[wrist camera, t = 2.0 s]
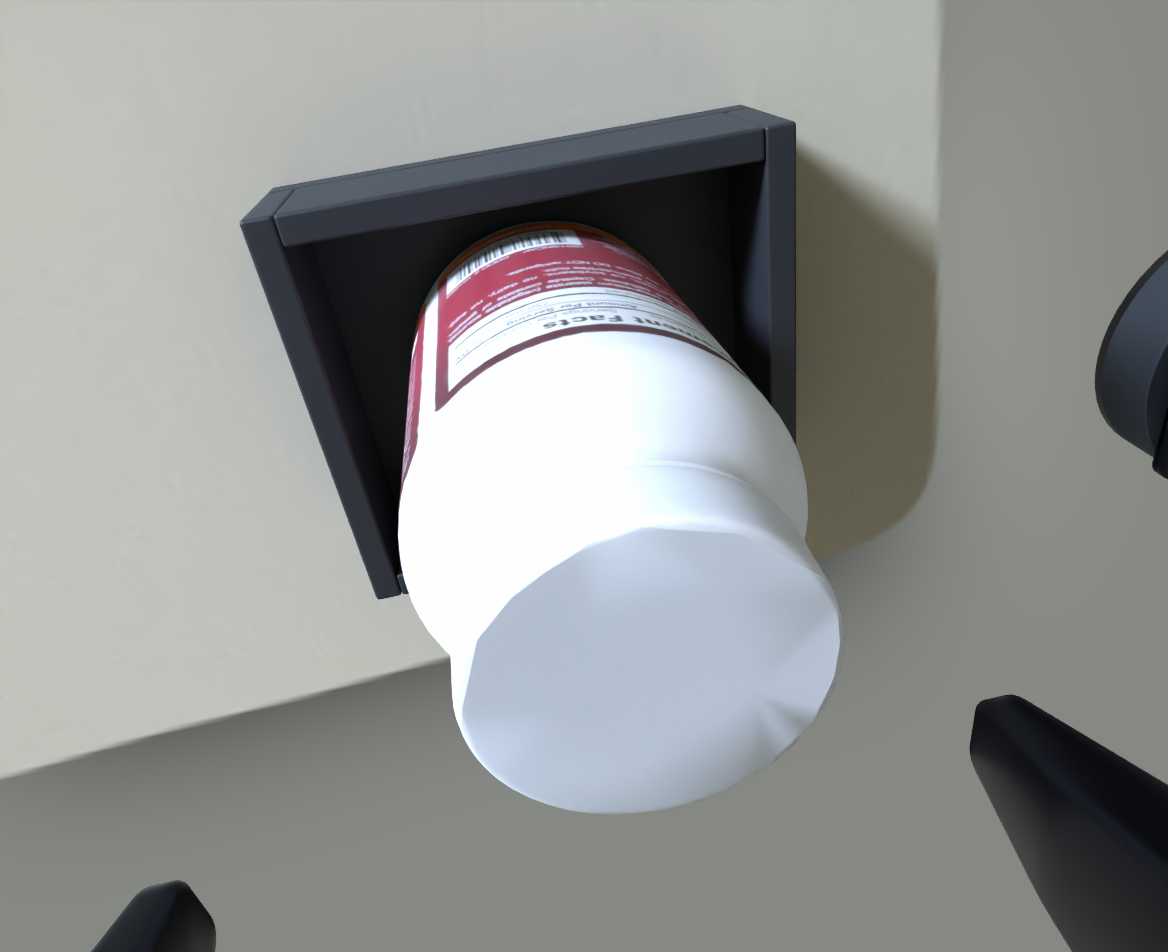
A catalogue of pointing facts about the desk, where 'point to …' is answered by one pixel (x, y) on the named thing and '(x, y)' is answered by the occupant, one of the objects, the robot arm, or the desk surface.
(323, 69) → the desk surface
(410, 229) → the tray
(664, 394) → the pill bottle
